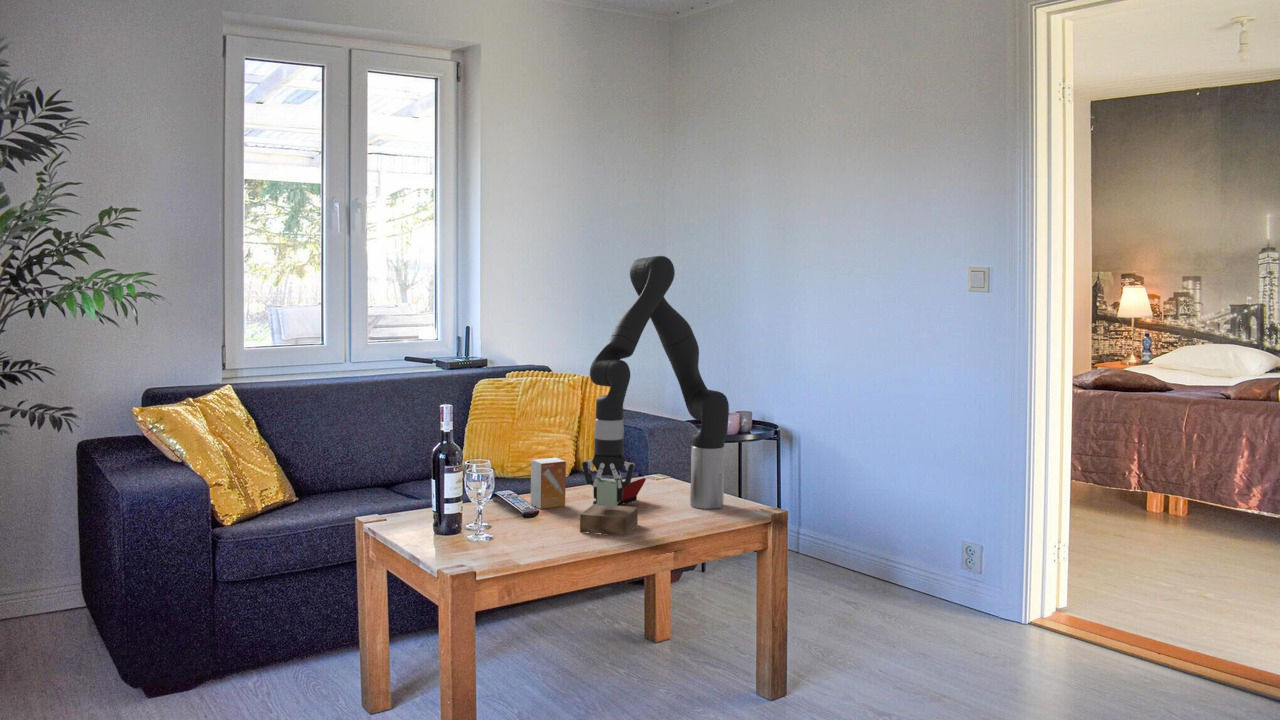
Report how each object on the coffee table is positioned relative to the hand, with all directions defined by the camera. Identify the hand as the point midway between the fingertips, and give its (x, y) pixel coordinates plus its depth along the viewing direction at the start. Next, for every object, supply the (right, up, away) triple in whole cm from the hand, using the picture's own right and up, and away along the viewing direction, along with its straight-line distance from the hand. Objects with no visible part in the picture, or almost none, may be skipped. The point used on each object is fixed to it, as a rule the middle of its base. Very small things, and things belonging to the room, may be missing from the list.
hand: (608, 500), depth 258 cm
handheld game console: (+2, -5, +28) cm, 28 cm away
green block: (0, -1, 0) cm, 1 cm away
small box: (-18, -5, +24) cm, 30 cm away
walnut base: (0, -7, 0) cm, 7 cm away
